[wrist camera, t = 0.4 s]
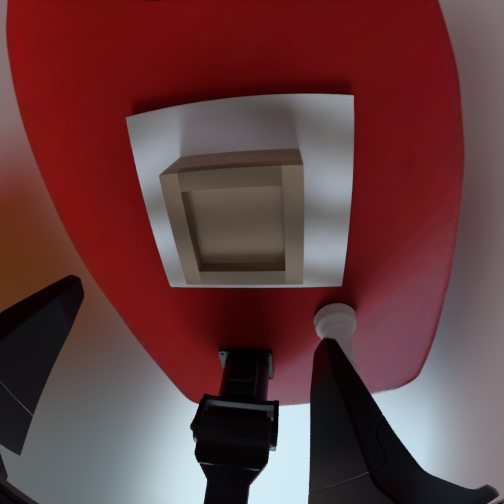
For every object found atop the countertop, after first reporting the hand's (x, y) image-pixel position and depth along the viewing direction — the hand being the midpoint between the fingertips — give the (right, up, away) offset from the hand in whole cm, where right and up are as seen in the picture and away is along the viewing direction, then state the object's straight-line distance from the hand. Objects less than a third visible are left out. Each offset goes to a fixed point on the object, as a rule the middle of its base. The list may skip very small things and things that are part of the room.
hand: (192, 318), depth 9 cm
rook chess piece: (+11, -4, +19) cm, 22 cm away
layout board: (+1, +6, +12) cm, 14 cm away
